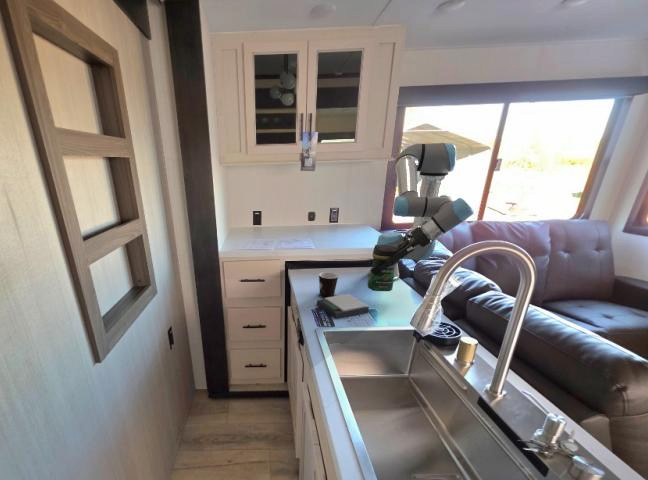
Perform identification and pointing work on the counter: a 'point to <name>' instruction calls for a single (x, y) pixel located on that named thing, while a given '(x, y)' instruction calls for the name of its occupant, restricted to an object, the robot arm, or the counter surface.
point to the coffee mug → (327, 284)
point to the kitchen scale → (342, 306)
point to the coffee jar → (385, 277)
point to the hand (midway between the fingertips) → (374, 269)
